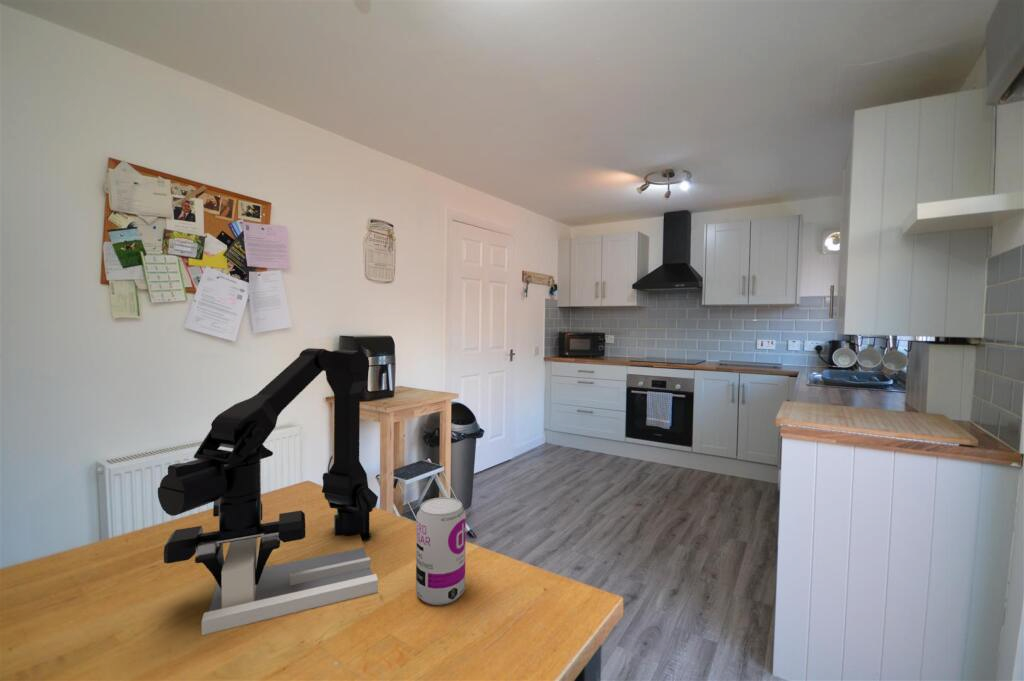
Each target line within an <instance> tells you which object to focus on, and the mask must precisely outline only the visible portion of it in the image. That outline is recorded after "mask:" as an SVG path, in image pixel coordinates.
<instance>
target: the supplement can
mask: <svg viewBox="0 0 1024 681" xmlns="http://www.w3.org/2000/svg"><path fill="white" fill-rule="evenodd" d="M466 517H467V514H466V511H465V508H464V507H463V504H462V502H461V501H460V500H459V499H457V498H453V497H448V496H447V497H443V496H442V497H435V498H430V499H427V500H425V501H423V502H421V504H420V506H419V510H418V511H417V513H416V520H415V521H416V523H415V524H416V529H415V530H416V531H415V532H416V536H415V538H416V542H415V544H416V546H415V550H416V551H415V552H416V553H415V554H416V555H415V558H416V559H415V560H416V564H415V567H416V568H415V592H416V593H415V594H416V595H417V596H418V598H419V599H420V600H422V602H424V603H426V604H428V605H433V606H444V605H448V604H451V603H453V602H455V601H457V599H458V598H459V597H460V596H461V595H463V594H464V592H465V588H466V550H467V549H466V542H467V541H466V539H467V538H466V537H467V536H466V532H467V530H466V529H467V528H466V526H467V521H466V520H467V518H466Z"/></svg>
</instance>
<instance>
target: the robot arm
mask: <svg viewBox="0 0 1024 681" xmlns="http://www.w3.org/2000/svg"><path fill="white" fill-rule="evenodd" d="M323 371H324V372H325V376H326V377H325V378H326V382H327V384H328V386H329V387H330V389H331V391H332V393H333V396H334V397H333V399H334V401H333V402H334V404H333V406H334V407H333V415H334V416H333V464H332V465H331V467H330V468H329V470H328V472H324V473H323V474H322V477H321V478H322V490H321V494H323V496H324V499H325V500H326V501H327V502H328V506H329V508H330V509H335V510H336V514H335V515H334V516H333V532H334V536H345V537H352V536H360V539H361V542H362V541H368V540H371V539H372V535H371V533H370V513H371V512H373V509H375V508H376V507H377V504H378V500H379V495H377V494H376V493H375V492H374V491H373V490H372V489H371V488H370V487H369V483H368V474H367V472H366V470H365V469H364V467H363V465H362V463H361V462H360V429H361V428H360V420H361V419H360V418H361V417H360V410H361V409H360V408H361V404H360V401H361V400H360V395H361V392H362V390H363V389H364V387H365V385H366V383H367V382H368V378H369V371H370V359H369V357H368V356H367V355H366V354H365V352H363V351H362V350H344V349H343V350H341V349H334V350H327V349H326V348H316V347H315V348H313V347H311V348H310V347H308V348H304V349H303V350H301V352H300V353H299V355H298V357H297V358H296V359H294V360H293V361H292V362H291V363H290V364H289V365H288V366H286V367H285V368H284V369H283V370H282V371H281V372H280V373H278V375H276V376H275V377H274V378H273V379H272V380H271V381H270V382H269V383H267V384H266V386H264V387H263V388H262V389H261V390H260V391H259V392H258V393H256V394H255V395H253V396H252V397H250V398H249V397H248V398H247V399H245V400H243V401H239V402H236V403H235V404H233V405H231V406H230V407H228V408H227V409H226V410H223V411H222V412H221V413H219V414H217V416H216V417H215V418H214V419H213V420H212V421H211V423H210V426H211V428H210V430H209V431H208V432H207V435H206V436H205V437H204V439H203V441H202V442H201V444H200V445H199V447H198V449H197V450H196V452H195V453H194V455H193V458H194V459H193V460H190V461H187V462H186V461H185V462H177V463H174V464H170V465H168V467H167V474H165V475H164V476H163V478H162V479H161V481H160V482H159V487H157V498H158V502H159V504H160V507H161V509H162V510H163V511H164V512H165V514H167V515H168V516H170V517H174V516H175V517H176V516H178V515H181V514H184V513H187V512H189V511H192V510H195V509H198V508H200V507H203V506H206V505H209V504H211V503H213V508H212V509H213V510H212V511H213V512H212V517H214V518H216V517H218V530H217V531H216V530H215V531H210V532H204V529H203V526H202V525H198V526H191V527H186V528H180V529H175V530H174V531H173V532H172V533H171V534H170V535H169V537H168V540H167V542H166V543H165V545H164V549H163V564H167V565H168V564H173V563H178V562H184V561H190V560H191V558H193V556H195V558H194V563H195V564H202V565H204V566H205V568H206V569H207V570H208V571H209V572H210V574H211V575H212V576H213V577H214V578H213V579H215V581H216V584H217V583H218V585H219V586H220V588H221V590H222V569H223V565H224V562H225V558H224V557H225V555H224V544H226V543H230V542H233V541H239V540H245V539H251V538H257V539H258V538H260V541H259V545H258V546H259V547H258V560H257V566H256V573H255V585H258V583H259V580H260V577H261V574H262V572H263V569H264V567H266V563H267V561H268V559H269V557H270V556H271V554H272V552H273V551H274V550H277V549H279V548H280V547H281V542H282V543H289V542H294V541H300V540H303V539H305V538H306V514H305V512H304V511H303V510H295V511H289V512H283V513H282V512H281V513H279V515H278V520H274V521H269V522H263V523H262V521H263V517H264V516H263V502H262V487H261V486H262V481H261V480H262V477H261V474H262V472H261V470H262V468H261V466H262V464H261V463H262V462H261V460H263V459H267V458H269V457H272V456H273V455H274V452H273V451H272V450H270V449H269V448H267V447H266V446H265V445H264V443H265V442H266V441H267V439H268V438H269V436H270V435H271V434H272V432H273V431H274V430H275V428H276V425H277V422H278V418H279V416H280V415H281V413H282V411H284V409H286V408H287V407H288V406H289V404H291V403H292V402H293V400H295V399H296V397H298V396H299V395H300V394H301V393H302V392H303V391H304V390H305V389H306V388H307V387H308V386H309V385H310V384H311V383H312V382H313V381H314V380H315V379H316V378H317V377H318V376H319V375H320V374H321V373H322V372H323ZM220 447H222V448H226V449H232V450H225V449H222V448H221V449H220Z"/></svg>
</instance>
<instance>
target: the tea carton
mask: <svg viewBox="0 0 1024 681" xmlns="http://www.w3.org/2000/svg"><path fill="white" fill-rule="evenodd" d="M258 546H259V545H258V537H257V538H251V539H245V540H239V541H233V542H229V545H228V548H227V551H226V555H225V558H224V565H223V569H222V609H223V608H228V607H232V606H236V605H241V604H245V603H250V602H254V601H255V593H256V586H257V585H255V573H256V566H257V560H258V553H259V547H258Z"/></svg>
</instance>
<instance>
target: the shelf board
mask: <svg viewBox="0 0 1024 681" xmlns="http://www.w3.org/2000/svg"><path fill="white" fill-rule="evenodd" d="M377 593H379V579H378V576H377V573H373V572H372V568H371V557H370V556H368V555H367V552H366V549H365V547H360V548H356V549H350V550H345V551H339V552H335V553H330V554H326V555H324V554H323V555H321V556H314V557H310V558H305V559H299V560H296V561H290V562H285V563H280V564H276V565H269V566H264V569H263V572H262V574H261V577H260V580H259V583H258V585H257V586H256V593H255V601H254V602H250V603H245V604H241V605H236V606H232V607H228V608H223V609H222V590H221V588H220V586H219V585H218V583H217V582H216V586H215V589H214V591H213V595H212V599H211V602H210V606H209V610H208V611H206V612H203V616H202V619H201V636H205V635H206V636H207V635H209V634H213V633H218V632H222V631H226V630H229V629H234V628H238V627H242V626H246V625H250V624H255V623H257V622H258V623H259V622H262V621H267V620H271V619H275V618H278V617H283V616H286V615H292V614H294V613H299V612H304V611H308V610H311V609H315V608H319V607H324V606H327V605H331V604H335V603H340V602H343V601H344V602H345V601H349V600H352V599H355V598H360V597H364V596H368V595H373V594H377Z"/></svg>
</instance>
